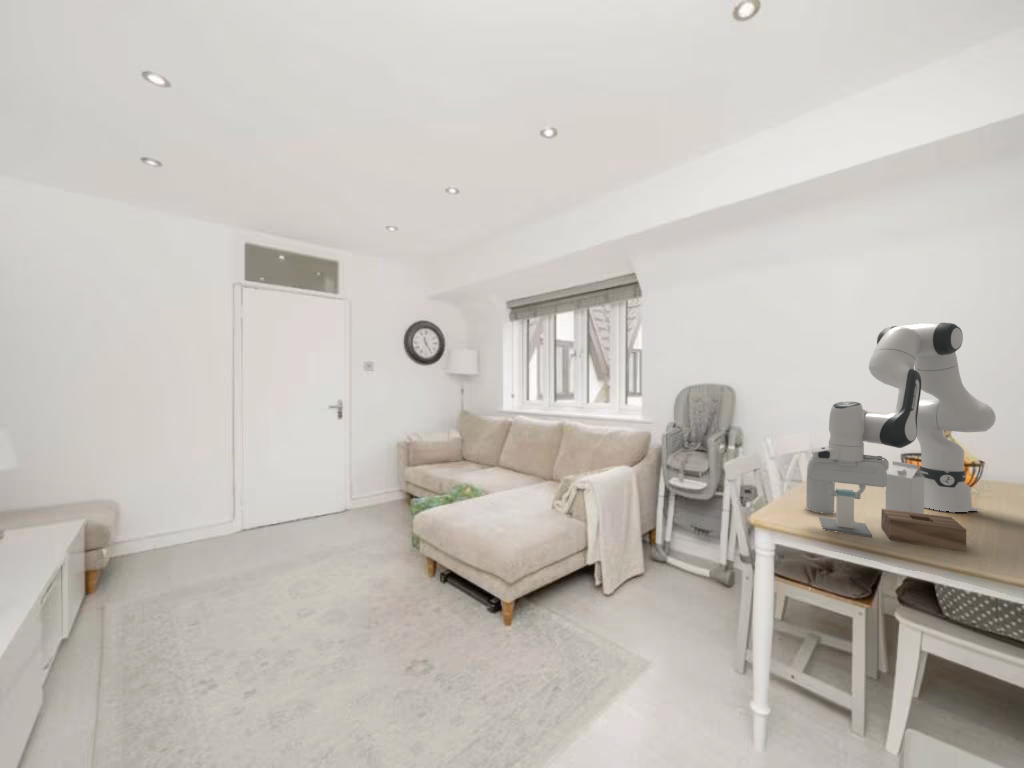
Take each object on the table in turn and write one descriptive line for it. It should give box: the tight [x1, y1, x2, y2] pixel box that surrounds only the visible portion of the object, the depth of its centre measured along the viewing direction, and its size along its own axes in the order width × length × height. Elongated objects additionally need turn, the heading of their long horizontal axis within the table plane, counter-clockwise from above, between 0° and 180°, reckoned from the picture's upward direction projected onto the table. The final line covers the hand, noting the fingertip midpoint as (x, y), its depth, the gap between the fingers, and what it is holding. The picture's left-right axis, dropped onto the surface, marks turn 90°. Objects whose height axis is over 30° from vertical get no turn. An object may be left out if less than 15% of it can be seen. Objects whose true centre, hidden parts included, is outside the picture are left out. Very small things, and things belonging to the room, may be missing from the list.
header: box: [880, 508, 967, 552], centre depth 129 cm, size 12×16×6 cm
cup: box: [805, 476, 836, 514], centre depth 156 cm, size 8×8×12 cm
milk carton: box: [885, 460, 925, 514], centre depth 145 cm, size 7×7×19 cm
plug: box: [835, 488, 855, 528], centre depth 138 cm, size 4×4×11 cm
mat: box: [819, 516, 873, 538], centre depth 138 cm, size 12×12×1 cm
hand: (845, 497), depth 138 cm, fingers open, 5 cm apart
